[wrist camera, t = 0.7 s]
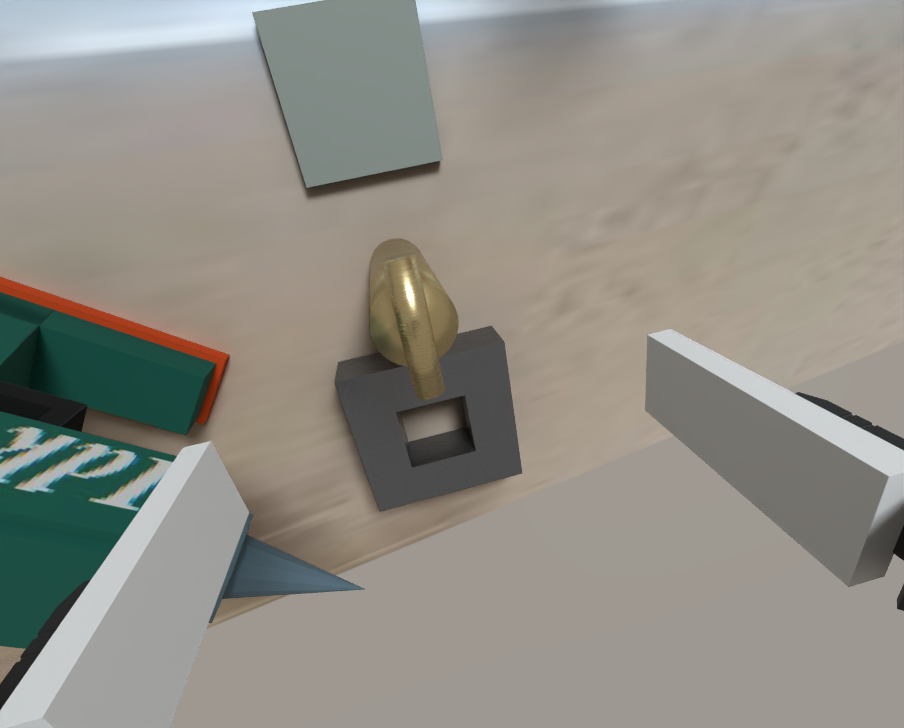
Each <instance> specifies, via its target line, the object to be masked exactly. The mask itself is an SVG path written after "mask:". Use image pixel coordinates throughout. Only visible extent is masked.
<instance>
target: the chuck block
mask: <svg viewBox="0 0 904 728" xmlns="http://www.w3.org/2000/svg"><path fill="white" fill-rule="evenodd" d="M439 362H440V367H441V371H442V376H443V380H444V385H445V391H444V393H443V394H442V395H440V396H438V397H436V398H433V399H428V400H422V399H418V398H417V397H416V396H415V393H414V389H413V385H412V381H411V377H410V373H409V369H408V366H402V365H399V364H396V363H394V362H391V361H390V360H388V359H387V358H385V357H384V356H383V355H382V354H381V353H376V354H371V355H367V356H363V357H359V358H354V359H350V360H346V361H342V362H338V366H337V372H336V378H335V385H336V388H337V391H338V394H339V397H340V400H341V403H342V406H343V408H344V411H345V414H346V417H347V420H348V423H349V426H350V428H351V431H352V434H353V437H354V440H355V443H356V446H357V448H358V451H359V454H360V457H361V460H362V463H363V466H364V469H365V471H366V474H367V477H368V480H369V483H370V486H371V489H372V491H373V494H374V497H375V500H376V503H377V506H378V509H379V511H384V510H388V509H392V508H395V507H399V506H403V505H406V504H410V503H414V502H418V501H421V500H425V499H429V498H432V497H436V496H440V495H444V494H447V493H451V492H455V491H459V490H462V489H466V488H470V487H473V486H477V485H481V484H485V483H488V482H492V481H496V480H499V479H503V478H507V477H511V476H514V475H518V474H522V468H521V460H520V453H519V446H518V438H517V431H516V424H515V416H514V409H513V402H512V395H511V387H510V380H509V373H508V365H507V358H506V351H505V343H504V341H503V340H502V338H501V337H500V336H499V335H498V333H497V332H496V331H495V330H494V328H493V327H492V326H489V327H485V328H481V329H477V330H472V331H468V332H464V333H460V334H457V335H456V338H455V341H454V343H453V344H452V346H451V348H450V349H449V350H448V351H447V352H446V353H445V354H444V355H443V356H442V357H441V358H439ZM460 396H461V400H462V405H463V410H464V415H465V420H466V425H467V427H466V428H462V429H458V430H454V431H450V432H446V433H442V434H439V435H435V436H431V437H427V438H423V439H419V440H415V441H411V442H408V439H407V436H406V432H405V429H404V425H403V421H402V418H401V414H400V411H404V410H408V409H412V408H416V407H420V406H424V405H428V404H432V403H436V402H440V401H444V400H448V399H452V398H456V397H460Z"/></svg>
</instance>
